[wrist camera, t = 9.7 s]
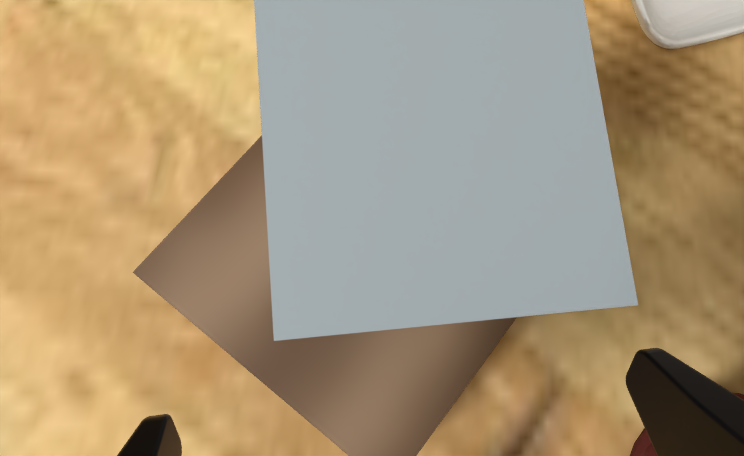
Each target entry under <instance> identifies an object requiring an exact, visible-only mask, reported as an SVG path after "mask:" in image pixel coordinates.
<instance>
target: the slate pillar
mask: <svg viewBox="0 0 744 456" xmlns="http://www.w3.org/2000/svg"><path fill="white" fill-rule="evenodd" d="M254 5H255V22H256V40H257V57H258V75H259V92H260V109H261V127H262V144H263V161H264V179H265V196H266V214H267V231H268V248H269V266H270V283H271V301H272V318H273V335H274V341H278V340H288V339H299V338H309V337H319V336H329V335H339V334H350V333H360V332H370V331H380V330H391V329H401V328H411V327H421V326H431V325H442V324H452V323H462V322H472V321H483V320H493V319H503V318H513V317H523V316H534V315H544V314H554V313H564V312H575V311H585V310H595V309H605V308H615V307H626V306H636V305H638V301H637V295H636V290H635V284H634V279H633V273H632V267H631V262H630V256H629V251H628V245H627V240H626V234H625V228H624V223H623V217H622V212H621V206H620V201H619V195H618V189H617V184H616V178H615V173H614V167H613V162H612V156H611V150H610V145H609V139H608V134H607V128H606V123H605V117H604V111H603V106H602V100H601V95H600V89H599V84H598V78H597V73H596V67H595V61H594V56H593V50H592V45H591V39H590V34H589V28H588V22H587V17H586V11H585V6H584V0H254Z"/></svg>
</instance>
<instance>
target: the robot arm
mask: <svg viewBox="0 0 744 456" xmlns="http://www.w3.org/2000/svg"><path fill="white" fill-rule="evenodd" d="M626 385H627V388H628V391H629V393H630V395H631V398H632V400H633V402H634V404H635V407H636V409H637V411H638V413H639V416H640V418H641V420H642V422H643V425H644V427H645V429H646V431H647V434H648V436H649V438H650V440H651V443H652V445H653V447H654V449H655V451H656V454H657V456H744V400H743V399H741V398H739V397H738V396H736V395H735V394H733V393H731V392H730V391H728V390H727V389H725V388H723V387H722V386H720V385H719V384H717V383H715V382H714V381H712V380H711V379H709V378H707V377H706V376H704V375H703V374H701V373H699V372H698V371H696V370H695V369H693V368H691V367H690V366H688V365H687V364H685V363H683V362H682V361H680V360H679V359H677V358H675V357H674V356H672V355H671V354H669V353H667V352H666V351H664V350H662V349H659V348H650V349H643V350H639V351H638V352H637V353H636V354H635V356H634V358H633V361H632V363H631V365H630V368H629V370H628V372H627V375H626ZM181 454H182V447H181V440H180V437H179V435H178V432H177V430H176V427H175V425H174V422H173V420H172V418H171V416H170V415H168V414H163V415H156V416H149V417H146V418H145V419H144V420H143V421H142V422H141V423H140V424H139V426H138V427H137V429H136V430H135V431H134V433H133V434H132V436H131V437H130V438H129V440H128V441H127V443H126V444H125V445H124V447H123V448H122V450H121V451H120V452H119V454H118V455H117V456H181Z"/></svg>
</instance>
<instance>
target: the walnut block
mask: <svg viewBox="0 0 744 456" xmlns="http://www.w3.org/2000/svg"><path fill="white" fill-rule="evenodd" d="M133 273H134V274H135V275H136V276H138V277H139V278H140V279H141V280H142V281H144V282H145V283H146V284H147V285H148V286H149V287H151V288H152V289H153V290H154V291H155V292H157V293H158V294H159V295H160V296H161V297H162V298H164V299H165V300H166V301H167V302H168V303H169V304H171V305H172V306H173V307H174V308H175V309H177V310H178V311H179V312H180V313H181V314H182V315H184V316H185V317H186V318H187V319H188V320H190V321H191V322H192V323H193V324H194V325H195V326H197V327H198V328H199V329H200V330H201V331H202V332H204V333H205V334H206V335H207V336H208V337H210V338H211V339H212V340H213V341H214V342H215V343H217V344H218V345H219V346H220V347H221V348H223V349H224V350H225V351H226V352H227V353H228V354H230V355H231V356H232V357H233V358H234V359H235V360H237V361H238V362H239V363H240V364H241V365H243V366H244V367H245V368H246V369H247V370H248V371H250V372H251V373H252V374H253V375H254V376H256V377H257V378H258V379H259V380H260V381H261V382H263V383H264V384H265V385H266V386H267V387H268V388H270V389H271V390H272V391H273V392H274V393H276V394H277V395H278V396H279V397H280V398H281V399H283V400H284V401H285V402H286V403H287V404H289V405H290V406H291V407H292V408H293V409H294V410H296V411H297V412H298V413H299V414H300V415H301V416H303V417H304V418H305V419H306V420H307V421H309V422H310V423H311V424H312V425H313V426H314V427H316V428H317V429H318V430H319V431H320V432H322V433H323V434H324V435H325V436H326V437H327V438H329V439H330V440H331V441H332V442H333V443H334V444H336V445H337V446H338V447H339V448H340V449H342V450H343V451H344V452H345V453H346V454H347V455H349V456H416V455H417V454H418V453H419V451H420V450H421V449H422V447H423V446H424V444H425V443H426V442H427V440H428V439H429V437H430V436H431V435H432V433H433V432H434V431H435V429H436V428H437V426H438V425H439V424H440V422H441V421H442V420H443V418H444V417H445V415H446V414H447V413H448V411H449V410H450V409H451V407H452V406H453V404H454V403H455V402H456V400H457V399H458V398H459V396H460V395H461V393H462V392H463V391H464V389H465V388H466V387H467V385H468V384H469V382H470V381H471V380H472V378H473V377H474V375H475V374H476V373H477V371H478V370H479V369H480V367H481V366H482V364H483V363H484V362H485V360H486V359H487V358H488V356H489V355H490V353H491V352H492V351H493V349H494V348H495V347H496V345H497V344H498V342H499V341H500V340H501V338H502V337H503V336H504V334H505V333H506V331H507V330H508V329H509V327H510V326H511V325H512V323H513V322H514V320H515V319H516V318H517V317H513V318H503V319H493V320H483V321H472V322H462V323H452V324H442V325H431V326H421V327H411V328H401V329H391V330H380V331H370V332H360V333H350V334H339V335H329V336H319V337H309V338H299V339H288V340H278V341H274V335H273V318H272V301H271V283H270V266H269V248H268V231H267V214H266V196H265V179H264V161H263V144H262V136H261V137H260V138H259V139H258V140H257V141H256V142H255V143H254V144H253V145H252V146H251V148H250V149H249V150H248V151H247V152H246V153H245V154H244V155H243V156H242V157H241V158H240V159H239V160H238V161H237V162H236V163H235V165H234V166H233V167H232V168H231V169H230V170H229V171H228V172H227V173H226V174H225V175H224V176H223V177H222V178H221V179H220V180H219V181H218V183H217V184H216V185H215V186H214V187H213V188H212V189H211V190H210V191H209V192H208V193H207V194H206V195H205V196H204V197H203V198H202V199H201V201H200V202H199V203H198V204H197V205H196V206H195V207H194V208H193V209H192V210H191V211H190V212H189V213H188V214H187V215H186V216H185V218H184V219H183V220H182V221H181V222H180V223H179V224H178V225H177V226H176V227H175V228H174V229H173V230H172V231H171V232H170V233H169V234H168V236H167V237H166V238H165V239H164V240H163V241H162V242H161V243H160V244H159V245H158V246H157V247H156V248H155V249H154V250H153V251H152V252H151V254H150V255H149V256H148V257H147V258H146V259H145V260H144V261H143V262H142V263H141V264H140V265H139V266H138V267H137V268H136V269H135V271H134V272H133Z"/></svg>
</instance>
